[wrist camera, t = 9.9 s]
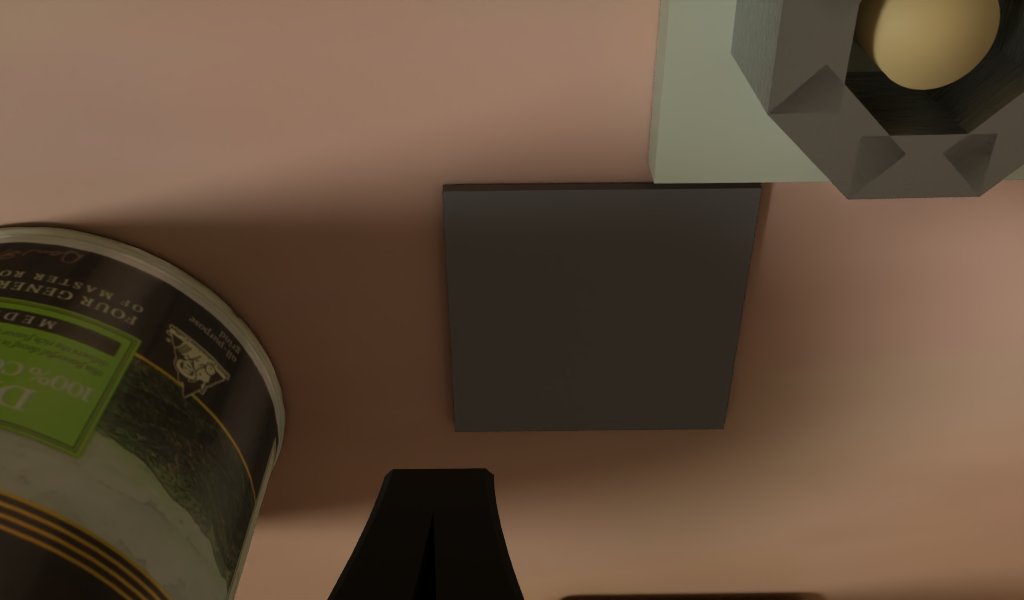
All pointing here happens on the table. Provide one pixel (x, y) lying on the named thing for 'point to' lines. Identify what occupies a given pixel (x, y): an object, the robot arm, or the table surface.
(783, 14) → the ring
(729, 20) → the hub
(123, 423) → the coffee can
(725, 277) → the mat
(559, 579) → the table surface
